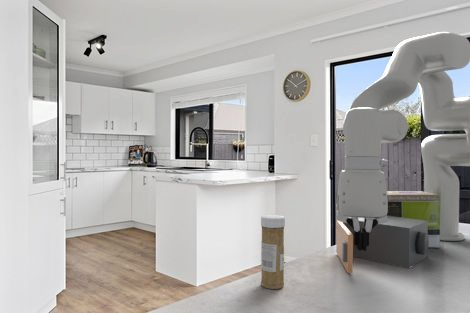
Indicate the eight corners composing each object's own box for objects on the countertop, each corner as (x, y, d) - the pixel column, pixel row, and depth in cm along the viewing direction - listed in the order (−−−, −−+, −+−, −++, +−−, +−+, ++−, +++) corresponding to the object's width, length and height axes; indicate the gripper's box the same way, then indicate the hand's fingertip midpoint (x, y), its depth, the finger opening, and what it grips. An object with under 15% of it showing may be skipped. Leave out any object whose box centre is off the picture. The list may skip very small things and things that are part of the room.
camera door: (340, 252, 92) (340, 220, 92) (352, 272, 76) (353, 234, 76) (333, 251, 92) (333, 220, 92) (343, 272, 76) (344, 234, 76)
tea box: (423, 240, 108) (423, 190, 108) (440, 249, 98) (441, 194, 98) (371, 239, 109) (372, 189, 109) (384, 247, 99) (384, 193, 99)
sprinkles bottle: (289, 286, 69) (289, 216, 69) (270, 291, 67) (271, 218, 67) (273, 279, 73) (274, 213, 73) (255, 284, 71) (256, 215, 70)
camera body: (364, 244, 102) (365, 209, 101) (433, 257, 89) (433, 218, 89) (342, 254, 92) (343, 215, 92) (415, 269, 80) (416, 225, 80)
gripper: (393, 165, 82) (392, 246, 82) (325, 164, 84) (324, 243, 84) (404, 166, 74) (402, 255, 75) (329, 164, 77) (327, 251, 77)
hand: (361, 248), depth 79 cm, fingers closed
